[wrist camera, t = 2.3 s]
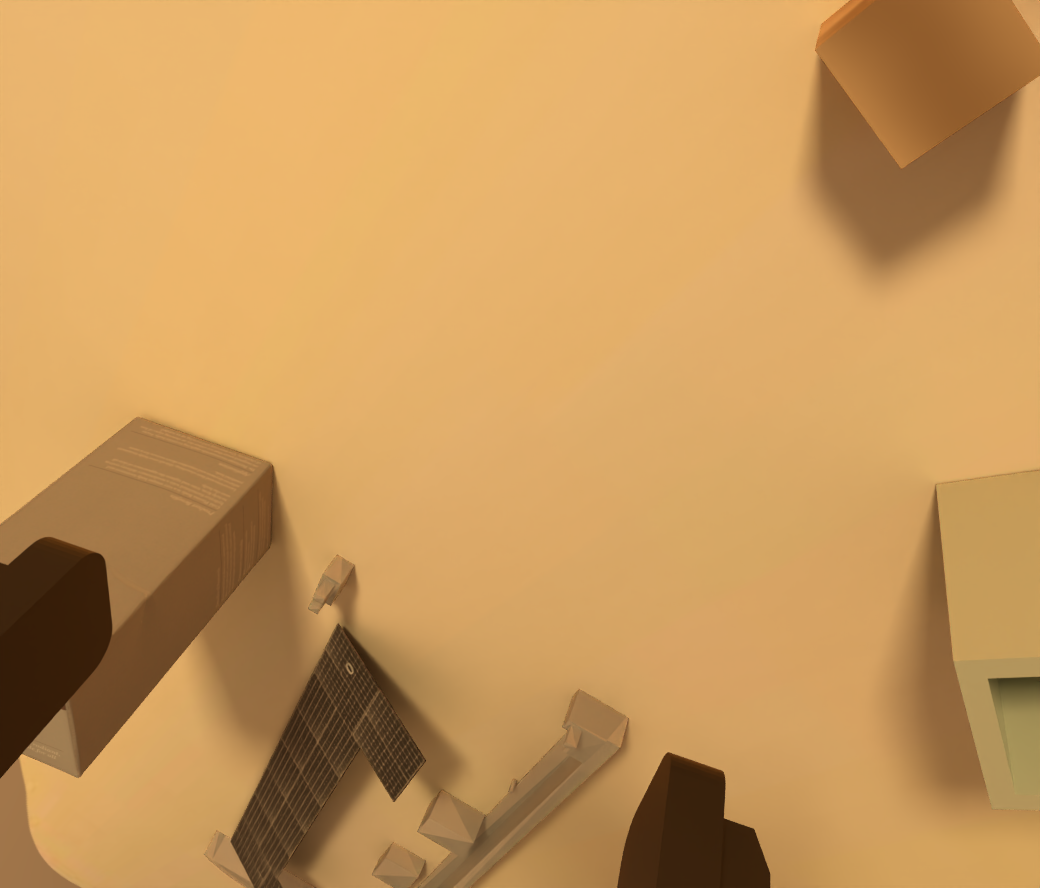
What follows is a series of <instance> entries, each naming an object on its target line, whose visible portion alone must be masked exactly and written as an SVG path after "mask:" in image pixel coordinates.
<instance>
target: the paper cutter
mask: <svg viewBox="0 0 1040 888" xmlns="http://www.w3.org/2000/svg"><path fill="white" fill-rule="evenodd" d="M353 567H354V564H352V563H351V562H349V561H347V560H345V559H344V558H342V557H340V556H339V555H336V557H335V558H334V559H333V561H332V562H331V564H330V565H329V566H328V568H327V569H326V570H325V572H324V573H323V575H322V577H321V579H320V582H319V584H318V586H317V588H316V591H315V593H314V595H313V600H312V602H311V603H310V605H309V607H308V609H309V610H311V611H312V612H314V613H316V614H318V613H319V611H320V610H321V608H322V607H323V606H324V604H325V603H327V604H328V605H330V606H331V605H332V603H333V602H334V601H335V599H336V598H337V596H338V595H339V593H340V592H341V591H342V589H343V588H344V586H345V584H346V582H347V580H348V578H349V576H350V573H351V571H352V569H353ZM628 719H629V718H628V717H626V716H625V715H623V714H621V713H619V712H618V711H616V710H614V709H613V708H611V707H609V706H608V705H606V704H604V703H602V702H601V701H599V700H597V699H596V698H594V697H592V696H590V695H589V694H587V693H585V692H584V691H582V690H580V689H579V690H578V691H577V692H576V693H575V694H574V696H573V697H572V700H571V703H570V706H569V709H568V712H567V714H566V717H565V720H564V723H563V726H562V727H563V728H564V729H566V730H568V731H567V733H566V734H565V735H564V736H563V737H562V738H561V739H560V740H559V741H558V742H557V743H556V744H555V745H554V746H553V747H552V748H551V749H550V750H549V751H548V753H547V754H546V755H545V756H544V757H543V758H542V759H541V760H540V761H539V762H538V763H537V764H536V765H535V766H534V767H533V768H532V769H531V770H530V771H529V772H528V773H527V774H526V775H525V776H524V777H523V778H522V780H521V781H520V782H519V783H518V784H517V785H516V782H517V780H516V779H513V780H512V783H511V785H510V788H509V791H508V792H509V793H508V794H507V795H506V796H505V797H504V798H503V799H502V800H501V801H500V802H499V803H498V804H497V806H496V807H495V808H494V809H493V810H492V811H491V812H490V813H489V814H488V815H487V816H486V817H485V818H484V816H485V814H483V813H481V812H479V811H478V810H476V809H474V808H473V807H471V806H469V805H467V804H466V803H464V802H462V801H461V800H459V799H457V798H455V797H454V796H452V795H450V794H449V793H447V792H445V791H443V790H441V791H440V792H439V794H438V795H437V796H436V797H435V798H434V800H433V801H432V802H431V803H430V805H429V807H428V809H427V811H426V813H425V816H424V818H423V820H422V822H421V824H420V827H419V829H418V831H417V832H419V833H420V834H422V835H424V836H425V837H427V838H429V839H431V840H432V841H434V842H436V843H437V844H439V845H441V846H443V847H444V848H446V849H448V850H449V851H451V853H450V854H449V855H448V856H447V857H446V859H445V860H444V861H443V862H442V863H441V864H440V865H439V866H438V867H437V868H436V869H435V870H434V871H433V872H432V873H431V874H430V875H429V876H428V877H427V878H426V879H425V880H424V881H423V882H422V883H421V885H420V886H419V887H418V888H470V887H471V886H472V885H473V884H474V883H475V882H476V881H477V880H478V879H480V878H481V877H482V876H483V875H484V874H485V873H486V872H487V871H488V870H489V869H490V868H491V867H492V866H494V865H495V864H496V863H497V862H498V861H499V860H500V859H501V858H502V857H503V856H504V855H505V854H506V853H508V852H509V851H510V850H511V849H512V848H513V847H514V846H515V845H516V844H517V843H518V842H519V841H521V840H522V839H523V838H524V837H525V836H526V835H527V834H528V833H529V832H530V831H531V830H532V829H533V828H535V827H536V826H537V825H538V824H539V823H540V822H541V821H542V820H543V819H544V818H545V817H546V816H547V815H549V814H550V813H551V812H552V811H553V810H554V809H555V808H556V807H557V806H558V805H559V804H560V803H562V802H563V801H564V800H565V799H566V798H567V797H568V796H569V795H570V794H571V793H572V792H573V791H574V790H576V789H577V788H578V787H579V786H580V785H581V784H582V783H583V782H584V781H585V780H586V779H587V778H588V777H590V776H591V775H592V774H593V773H594V772H595V771H596V770H597V769H598V768H599V767H600V766H601V765H603V764H604V763H605V762H606V761H607V760H608V759H609V758H610V757H611V756H612V755H613V754H614V753H615V752H617V751H618V750H619V749H620V748H621V744H622V741H623V737H624V733H625V730H626V726H627V722H628ZM360 748H361V749H362V751H363V753H364V754H365V756H366V758H367V759H368V761H369V762H370V764H371V766H372V767H373V769H374V771H375V772H376V774H377V776H378V777H379V779H380V781H381V782H382V784H383V786H384V787H385V789H386V790H387V792H388V794H389V795H390V797H391V799H392V800H393V802H395V800H396V799H397V798H398V797H399V795H400V794H401V793H402V791H403V790H404V789H405V788H406V786H407V785H408V784H409V782H410V781H411V780H412V778H413V777H414V776H415V774H416V773H417V772H418V771H419V769H420V768H421V767H422V765H423V764H424V763H425V761H426V760H425V758H424V756H423V755H422V753H421V752H420V750H419V749H418V747H417V745H416V744H415V742H414V741H413V739H412V738H411V736H410V734H409V733H408V731H407V730H406V728H405V727H404V725H403V723H402V722H401V720H400V719H399V717H398V716H397V714H396V712H395V711H394V709H393V708H392V706H391V705H390V703H389V701H388V700H387V698H386V697H385V695H384V694H383V692H382V690H381V689H380V688H379V686H378V684H377V683H376V681H375V680H374V678H373V677H372V675H371V673H370V672H369V670H368V669H367V667H366V666H365V664H364V662H363V661H362V659H361V658H360V656H359V655H358V653H357V651H356V650H355V648H354V647H353V645H352V644H351V642H350V640H349V639H348V637H347V636H346V634H345V633H344V631H343V629H342V628H341V626H340V625H339V623H338V624H337V625H336V627H335V629H334V631H333V633H332V635H331V637H330V639H329V641H328V643H327V645H326V647H325V650H324V652H323V654H322V656H321V658H320V660H319V662H318V664H317V666H316V668H315V670H314V672H313V674H312V676H311V678H310V680H309V682H308V684H307V686H306V688H305V690H304V692H303V694H302V696H301V698H300V700H299V702H298V704H297V706H296V708H295V710H294V712H293V715H292V717H291V719H290V721H289V723H288V725H287V727H286V729H285V731H284V733H283V735H282V737H281V739H280V741H279V743H278V745H277V747H276V749H275V751H274V753H273V755H272V757H271V759H270V761H269V763H268V765H267V767H266V769H265V771H264V773H263V776H262V778H261V780H260V782H259V784H258V786H257V788H256V790H255V792H254V794H253V796H252V798H251V800H250V802H249V804H248V806H247V808H246V810H245V812H244V814H243V816H242V818H241V820H240V822H239V824H238V826H237V828H236V830H235V832H234V834H233V837H232V839H231V838H229V837H228V836H226V835H224V834H223V833H221V832H219V831H216V833H215V835H214V837H213V839H212V841H211V842H210V844H209V846H208V848H207V850H206V852H205V853H204V855H205V856H206V857H207V858H208V859H209V860H210V861H211V862H212V863H213V864H214V865H216V866H217V867H218V868H219V869H220V870H222V871H223V872H224V873H225V874H227V875H228V876H230V877H231V878H232V879H234V880H235V881H237V882H238V883H240V884H241V885H243V886H244V887H246V888H315V887H314V886H312V885H310V884H309V883H307V882H305V881H303V880H302V879H300V878H298V877H297V876H295V875H293V874H291V873H290V872H288V871H286V870H284V867H285V866H286V864H287V863H288V861H289V860H290V858H291V856H292V855H293V853H294V852H295V850H296V849H297V847H298V845H299V844H300V842H301V841H302V839H303V838H304V836H305V834H306V833H307V831H308V830H309V828H310V827H311V825H312V823H313V822H314V820H315V819H316V817H317V816H318V814H319V812H320V811H321V809H322V808H323V806H324V805H325V803H326V801H327V800H328V798H329V797H330V795H331V794H332V792H333V790H334V789H335V787H336V786H337V784H338V783H339V781H340V779H341V778H342V776H343V775H344V773H345V771H346V770H347V768H348V767H349V765H350V764H351V762H352V760H353V759H354V757H355V756H356V754H357V753H358V751H359V749H360ZM515 785H516V786H515ZM483 818H484V819H483ZM424 863H425V860H423V859H422V858H420V857H418V856H417V855H415V854H413V853H411V852H410V851H408V850H406V849H405V848H403V847H401V846H399V845H398V844H396V843H394V842H393V843H392V844H391V845H390V847H389V848H388V849H387V850H386V851H385V853H384V854H383V855H382V856H381V858H380V859H379V860H378V863H377V865H376V867H375V869H374V871H373V873H372V875H373V876H375V877H376V878H378V879H380V880H381V881H383V882H385V883H387V884H388V885H390V886H392V887H393V888H409V887H410V886H411V885H412V884H413V882H414V881H415V880H416V879H417V878H418V877H419V875H420V873H421V870H422V868H423V866H424Z"/></svg>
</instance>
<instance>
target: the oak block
mask: <svg viewBox="0 0 1040 888" xmlns="http://www.w3.org/2000/svg"><path fill="white" fill-rule="evenodd" d="M815 51H816V52H817V54H818V55H819V56H820V58H821V59H822V60H823V62H824V63H825V65H826V66H827V67H828V69H829V70H830V71H831V73H832V74H833V76H834V77H835V78H836V80H837V81H838V83H839V84H840V85H841V87H842V88H843V89H844V91H845V92H846V94H847V95H848V96H849V98H850V99H851V100H852V102H853V103H854V105H855V106H856V107H857V109H858V110H859V112H860V113H861V114H862V116H863V117H864V118H865V120H866V121H867V123H868V124H869V125H870V127H871V128H872V129H873V131H874V132H875V134H876V135H877V136H878V138H879V139H880V140H881V142H882V143H883V145H884V146H885V147H886V149H887V150H888V152H889V153H890V154H891V156H892V157H893V158H894V160H895V161H896V163H897V164H898V165H899V167H900V168H901V169H902V168H904V167H905V166H907V165H908V164H910V163H911V162H913V161H914V160H915V159H917V158H918V157H920V156H921V155H923V154H924V153H926V152H927V151H929V150H930V149H932V148H933V147H935V146H936V145H938V144H939V143H941V142H942V141H944V140H945V139H947V138H948V137H950V136H951V135H952V134H954V133H955V132H957V131H958V130H960V129H961V128H963V127H964V126H966V125H967V124H969V123H970V122H972V121H973V120H975V119H976V118H978V117H979V116H981V115H982V114H984V113H985V112H986V111H988V110H989V109H991V108H992V107H994V106H995V105H997V104H998V103H1000V102H1001V101H1003V100H1004V99H1006V98H1007V97H1009V96H1010V95H1012V94H1013V93H1015V92H1016V91H1018V90H1019V89H1020V88H1022V87H1023V86H1025V85H1026V84H1028V83H1029V82H1031V81H1032V80H1034V79H1035V78H1037V77H1038V76H1040V44H1039V42H1038V41H1037V39H1036V37H1035V36H1034V34H1033V33H1032V31H1031V30H1030V28H1029V27H1028V25H1027V24H1026V22H1025V21H1024V19H1023V17H1022V16H1021V14H1020V13H1019V11H1018V10H1017V8H1016V7H1015V5H1014V4H1013V2H1012V0H850V1H849V2H848V3H846V4H845V5H844V6H843V7H842V8H840V9H839V10H838V11H837V12H836V13H834V14H833V15H832V16H831V17H830V18H828V19H827V20H826V21H825V22H824V23H822V24H821V28H820V32H819V36H818V40H817V44H816V48H815Z"/></svg>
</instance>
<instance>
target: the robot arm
mask: <svg viewBox="0 0 1040 888" xmlns="http://www.w3.org/2000/svg"><path fill="white" fill-rule="evenodd" d="M111 636H112V616H111V607H110V598H109V588H108V579H107V570H106V562H105V559H104V557H103V556H102V555H101V554H99V553H97V552H94V551H91V550H88V549H85V548H82V547H79V546H76V545H73V544H70V543H68V542H65V541H62V540H59V539H56V538H53V537H44V538H41V539H39V540H37V541H35V542H34V543H33V544H31V545H30V546H29V547H28V548H27V549H26V550H24V551H23V552H22V553H21V554H20V555H19V556H18V557H16V558H15V559H14V560H13V561H12V562H11V563H10V564H8V565H6V564H3V563H0V778H1V777H2V776H3V775H4V773H5V772H6V771H7V770H8V769H9V768H10V766H12V764H13V763H14V762H15V761H16V760H17V759H18V758H19V756H20V755H21V754H22V753H23V752H24V751H25V750H26V748H27V747H28V746H29V745H30V744H31V743H32V742H33V740H34V739H35V738H36V737H37V736H38V735H39V734H40V732H41V731H42V730H43V729H44V728H45V727H46V726H47V724H48V723H49V722H50V721H51V720H52V719H53V718H54V716H55V715H56V714H57V713H58V712H59V711H60V710H61V708H62V707H63V706H64V705H65V704H66V703H67V702H68V700H69V699H70V698H71V697H72V696H73V695H74V694H75V692H76V691H77V690H78V689H79V688H80V687H81V686H82V684H83V683H84V682H85V681H86V680H87V679H88V678H89V676H90V675H91V674H92V673H93V672H94V671H95V669H96V668H97V667H98V665H99V664H100V662H101V660H102V659H103V657H104V655H105V653H106V651H107V649H108V646H109V643H110V640H111ZM724 804H725V775H724V772H723V771H721V770H718V769H715V768H712V767H710V766H707V765H704V764H701V763H698V762H695V761H692V760H689V759H686V758H684V757H681V756H678V755H675V754H672V753H669V752H668V753H666V754H665V756H664V757H663V759H662V761H661V763H660V765H659V767H658V769H657V771H656V773H655V775H654V777H653V779H652V781H651V783H650V785H649V787H648V789H647V791H646V793H645V795H644V797H643V799H642V801H641V803H640V805H639V807H638V809H637V811H636V813H635V815H634V818H633V820H632V823H631V826H630V829H629V832H628V836H627V839H626V843H625V847H624V851H623V856H622V861H621V867H620V874H619V880H618V886H617V888H770V872H769V869H768V866H767V863H766V861H765V858H764V855H763V852H762V849H761V847H760V844H759V841H758V838H757V836H756V833H755V830H754V829H753V828H750V827H747V826H744V825H741V824H738V823H735V822H733V821H730V820H727V819H724Z"/></svg>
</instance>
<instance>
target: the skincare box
mask: <svg viewBox="0 0 1040 888" xmlns="http://www.w3.org/2000/svg"><path fill="white" fill-rule="evenodd" d="M272 471H273V470H272V464H271V463H268V462H265V461H263V460H260V459H257V458H254V457H251V456H248V455H246V454H243V453H240V452H237V451H234V450H231V449H228V448H226V447H223V446H220V445H217V444H214V443H211V442H208V441H206V440H203V439H200V438H197V437H194V436H191V435H188V434H186V433H183V432H180V431H177V430H174V429H171V428H168V427H165V426H163V425H160V424H157V423H154V422H151V421H148V420H146V419H143V418H140V417H137V418H135V419H134V420H132V421H131V422H130V423H129V424H127V425H126V426H125V427H124V428H122V429H121V430H120V431H118V432H117V433H116V434H115V435H113V436H112V437H111V438H109V439H108V440H107V441H105V442H104V443H103V444H102V445H100V446H99V447H98V448H97V449H95V450H94V451H93V452H92V453H90V454H89V455H88V456H87V457H85V458H84V459H83V460H81V461H80V462H79V463H78V464H76V465H75V466H74V467H73V468H71V469H70V470H69V471H67V472H66V473H65V474H64V475H62V476H61V477H60V478H59V479H57V480H56V481H55V482H53V483H52V484H51V485H50V486H48V487H47V488H46V489H45V490H43V491H42V492H41V493H39V494H38V495H37V496H36V497H34V498H33V499H32V500H31V501H29V502H28V503H27V504H26V505H24V506H23V507H22V508H21V509H19V510H18V511H17V512H15V513H14V514H13V515H11V516H10V517H9V518H8V519H6V520H5V521H4V522H2V523H1V524H0V563H3V564H6V565H8V564H10V563H11V562H12V561H13V560H14V559H15V558H16V557H18V556H19V555H20V554H21V553H22V552H23V551H24V550H26V549H27V548H28V547H29V546H30V545H31V544H33V543H34V542H35V541H37V540H39V539H41V538H44V537H53V538H56V539H59V540H62V541H65V542H68V543H70V544H73V545H76V546H79V547H82V548H85V549H88V550H91V551H94V552H97V553H99V554H101V555H102V556H103V557H104V559H105V562H106V570H107V579H108V588H109V598H110V607H111V616H112V636H111V640H110V643H109V646H108V649H107V651H106V653H105V655H104V657H103V659H102V660H101V662H100V664H99V665H98V667H97V668H96V669H95V671H94V672H93V673H92V674H91V675H90V676H89V678H88V679H87V680H86V681H85V682H84V683H83V684H82V686H81V687H80V688H79V689H78V690H77V691H76V692H75V694H74V695H73V696H72V697H71V698H70V699H69V700H68V702H67V703H66V704H65V705H64V706H63V707H62V708H61V710H60V711H59V712H58V713H57V714H56V715H55V716H54V718H53V719H52V720H51V721H50V722H49V723H48V724H47V726H46V727H45V728H44V729H43V730H42V731H41V732H40V734H39V735H38V736H37V737H36V738H35V739H34V740H33V742H32V743H31V744H30V745H29V746H28V747H27V748H26V750H25V751H24V752H23V753H22V754H24V755H26V756H28V757H31V758H33V759H35V760H38V761H40V762H43V763H45V764H47V765H50V766H52V767H54V768H57V769H59V770H61V771H63V772H66V773H68V774H70V775H72V776H74V777H76V778H79V777H81V775H82V774H83V772H84V771H85V770H86V769H87V768H88V767H89V765H90V764H91V763H92V762H93V761H94V760H95V758H96V757H97V756H98V755H99V754H100V752H101V751H102V750H103V749H104V748H105V746H106V745H107V744H108V743H109V742H110V740H111V739H112V738H113V737H114V736H115V734H116V733H117V732H118V731H119V730H120V728H121V727H122V726H123V725H124V724H125V722H126V721H127V720H128V719H129V718H130V716H131V715H132V714H133V713H134V711H135V710H136V709H137V708H138V707H139V705H140V704H141V703H142V702H143V701H144V699H145V698H146V697H147V696H148V695H149V693H150V692H151V691H152V690H153V688H154V687H155V686H156V685H157V684H158V682H159V681H160V680H161V679H162V678H163V676H164V675H165V674H166V673H167V671H168V670H169V669H170V668H171V667H172V665H173V664H174V663H175V662H176V661H177V659H178V658H179V657H180V656H181V654H182V653H183V652H184V651H185V650H186V648H187V647H188V646H189V645H190V644H191V642H192V641H193V640H194V639H195V638H196V636H197V635H198V634H199V633H200V631H201V630H202V629H203V628H204V627H205V625H206V624H207V623H208V622H209V621H210V619H211V618H212V617H213V616H214V614H215V613H216V612H217V611H218V610H219V608H220V607H221V606H222V605H223V604H224V602H225V601H226V600H227V599H228V597H229V596H230V595H231V594H232V593H233V591H234V590H235V589H236V588H237V586H238V585H239V584H240V583H241V581H242V580H243V579H244V578H245V577H246V575H247V574H248V573H249V572H250V571H251V569H252V568H253V567H254V566H255V565H256V563H257V562H258V561H259V560H260V559H261V557H262V556H263V555H264V554H265V552H266V551H267V550H268V549H269V548H270V545H271V511H272Z"/></svg>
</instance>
